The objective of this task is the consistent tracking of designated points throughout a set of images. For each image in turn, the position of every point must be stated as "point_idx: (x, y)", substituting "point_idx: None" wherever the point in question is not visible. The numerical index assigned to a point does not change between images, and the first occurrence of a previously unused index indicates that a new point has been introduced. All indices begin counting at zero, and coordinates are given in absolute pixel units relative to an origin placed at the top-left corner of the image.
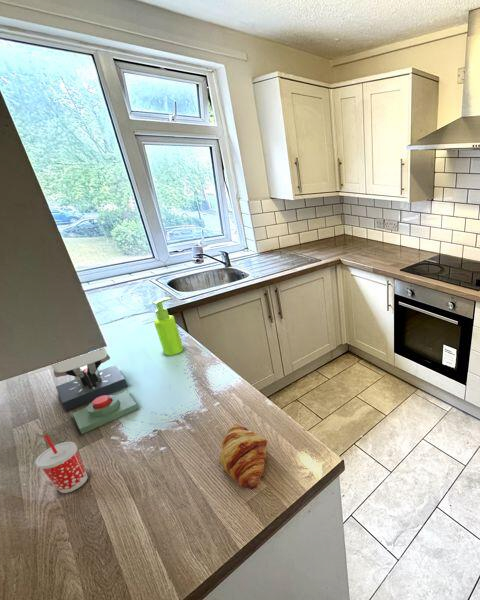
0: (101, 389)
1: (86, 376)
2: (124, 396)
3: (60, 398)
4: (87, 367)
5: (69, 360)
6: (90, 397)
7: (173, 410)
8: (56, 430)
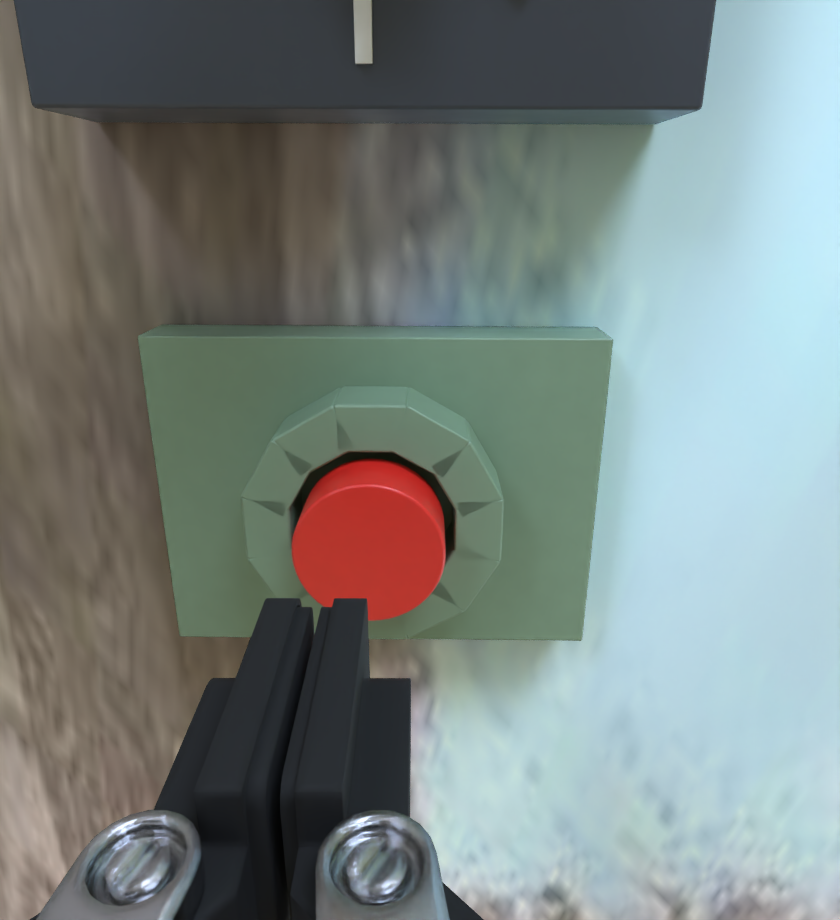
0: (426, 111)
1: None
2: (557, 441)
3: None
4: (316, 891)
5: None
6: (306, 115)
7: (720, 807)
8: (34, 398)
